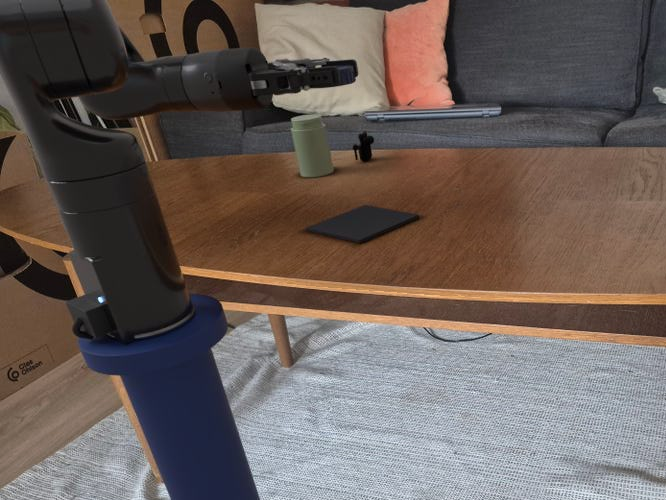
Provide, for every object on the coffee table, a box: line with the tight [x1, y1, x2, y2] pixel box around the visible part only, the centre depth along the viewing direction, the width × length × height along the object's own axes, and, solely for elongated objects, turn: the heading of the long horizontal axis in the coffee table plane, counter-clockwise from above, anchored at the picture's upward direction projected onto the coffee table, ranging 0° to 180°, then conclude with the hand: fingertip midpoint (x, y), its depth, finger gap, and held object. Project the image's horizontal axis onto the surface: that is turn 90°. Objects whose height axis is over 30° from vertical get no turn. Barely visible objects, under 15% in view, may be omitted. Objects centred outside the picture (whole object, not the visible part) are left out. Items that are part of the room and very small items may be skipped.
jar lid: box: [307, 65, 357, 89], centre depth 86 cm, size 6×7×2 cm
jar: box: [290, 113, 335, 178], centre depth 118 cm, size 6×6×10 cm
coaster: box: [305, 204, 420, 244], centre depth 92 cm, size 11×11×1 cm
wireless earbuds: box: [352, 131, 375, 163], centre depth 124 cm, size 7×2×5 cm, turn 159°
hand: (347, 72), depth 86 cm, fingers closed on jar lid, 6 cm apart
